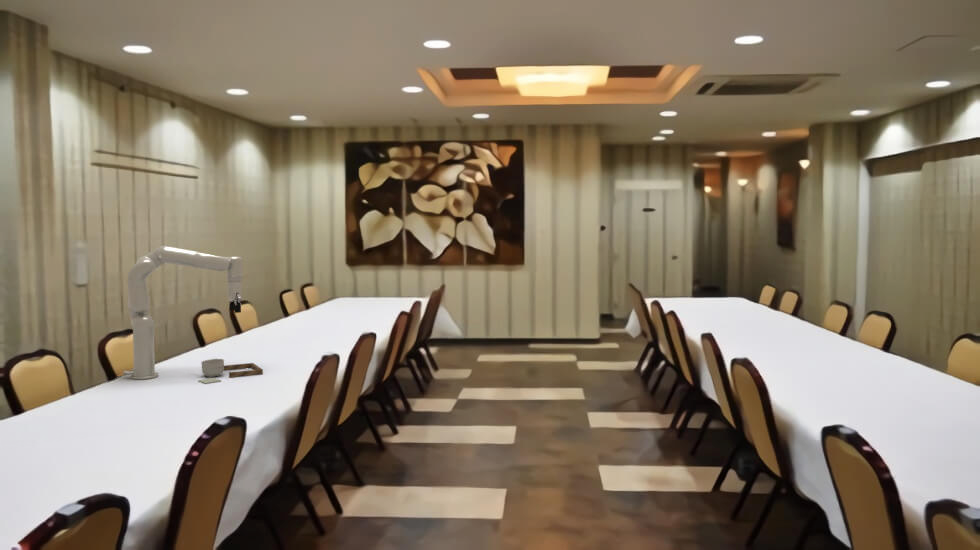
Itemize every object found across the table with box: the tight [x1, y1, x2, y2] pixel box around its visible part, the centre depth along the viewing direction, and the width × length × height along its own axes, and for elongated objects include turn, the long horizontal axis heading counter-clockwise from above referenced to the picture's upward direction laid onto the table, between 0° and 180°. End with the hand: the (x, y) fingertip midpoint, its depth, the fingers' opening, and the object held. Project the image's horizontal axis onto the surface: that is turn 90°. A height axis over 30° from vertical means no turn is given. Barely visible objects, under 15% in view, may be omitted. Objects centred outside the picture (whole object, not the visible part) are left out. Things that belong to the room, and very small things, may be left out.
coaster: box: [197, 377, 222, 385], centre depth 349 cm, size 8×8×1 cm
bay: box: [224, 362, 264, 379], centre depth 371 cm, size 16×20×2 cm
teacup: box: [200, 358, 225, 378], centre depth 363 cm, size 14×11×8 cm
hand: (235, 311), depth 378 cm, fingers open, 9 cm apart
